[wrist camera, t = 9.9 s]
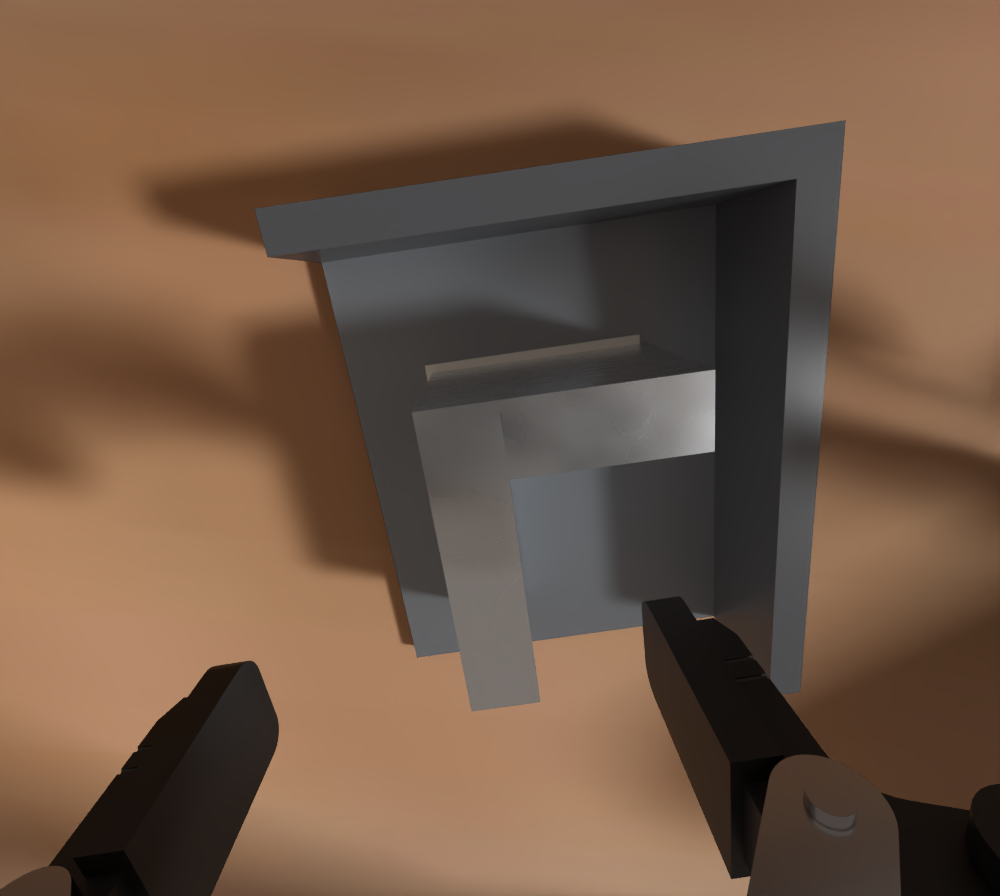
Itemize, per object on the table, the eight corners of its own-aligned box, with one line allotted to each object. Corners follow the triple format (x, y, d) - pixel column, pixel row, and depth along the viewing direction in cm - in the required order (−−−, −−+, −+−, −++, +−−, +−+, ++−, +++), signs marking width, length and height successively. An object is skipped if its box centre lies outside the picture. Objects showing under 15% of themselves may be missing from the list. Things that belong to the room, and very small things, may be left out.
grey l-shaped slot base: (731, 602, 20) (800, 691, 16) (418, 646, 20) (402, 746, 16) (739, 166, 15) (845, 120, 11) (319, 229, 15) (254, 208, 11)
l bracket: (432, 372, 16) (411, 412, 11) (645, 342, 16) (715, 369, 11) (473, 603, 19) (471, 711, 14) (654, 578, 19) (712, 678, 14)
